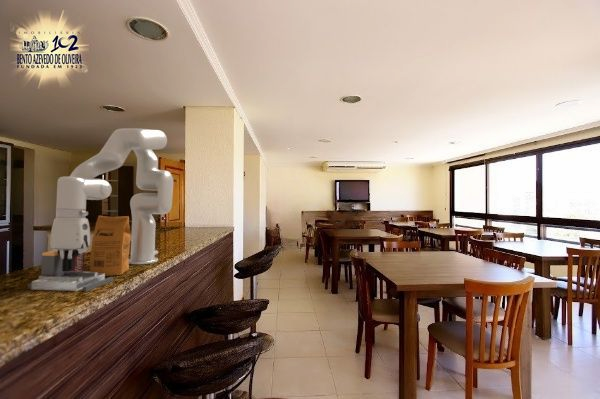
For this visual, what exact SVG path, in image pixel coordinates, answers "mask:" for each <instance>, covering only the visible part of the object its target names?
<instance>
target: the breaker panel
mask: <svg viewBox="0 0 600 399" xmlns="http://www.w3.org/2000/svg"><path fill="white" fill-rule="evenodd" d="M105 277H106V276H105V273H97V272H90V271H83V272H82V271H68V272H66V271H64V275H61V276H45V275H42V276H41V275H39V276H38V279H36V280H35V279H34V280H32V281H31V283H32V287H31V288H30V289H31V290H40V291H64V292H65V291H66V292H67V291H68V292H69V291H70V292H77V291H80V290H83V287H85V286H87V285H90V284H93V283H96V282H98V281H101V280H104V279H106V278H105Z"/></svg>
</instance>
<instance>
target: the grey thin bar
mask: <svg viewBox="0 0 600 399" xmlns="http://www.w3.org/2000/svg"><path fill="white" fill-rule="evenodd" d="M114 280H115V278H114V276H108V277H107V278H105V279H104V280H101V281H98V282H96V283H93V284H90V285H87V286H85V287H83V289H81V290H82V292H88V291H90V290H93V289H96V288H98V287H101V286H104V285H106V284H108V283H112V282H114Z"/></svg>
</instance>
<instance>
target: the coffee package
mask: <svg viewBox="0 0 600 399" xmlns="http://www.w3.org/2000/svg"><path fill="white" fill-rule="evenodd" d="M130 230H131V228H130V217H129V215H128V216H127V215H126V216H113V217H112V216H104V215H98V217H97V219H96V222H95V227H94V230H93V231H94V232H93V236H92V238H91V240H92V241H91V249H90V257H89V272H97V273H105V277H114V276H122V275H123V274H124V273H126V272H127V271H129V269H130V264H129V259H130V258H129V255H130V249H131V231H130Z"/></svg>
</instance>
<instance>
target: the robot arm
mask: <svg viewBox="0 0 600 399" xmlns="http://www.w3.org/2000/svg"><path fill="white" fill-rule="evenodd" d="M167 143H168V136H167V135H166V134H165V132H164V131H163V130H160V129H150V128H149V129H147V128H136V127H135V128H131V127H130V128H127V127H126V128H125V127H124V128H118V129H115V130H114V131H113V133H111V135H110V137H109V138H108V140H107V141H106V142H105V144H104V145H103V147H102V148H101V149H100V151H99V153H97V154H96V155H94V156H92V157H90V158H88V159H86V160H85V161H84V162H82V163H80V164H79V165H77V166H76V167H75V168H74V169H73V171H72V172H71V173H70V175H69V176H60V177H58V179H57V184H56V185H57V186H56V205H55V206H56V207H55V218H54V219H53V222H52V226H51V231H50V239H49V243H50V248H51V251H52V252H55V253H58V254H59V255H60V258H61V259H63V262H62V271H66V272H68V271H72V270H75V262H76V258H77V257H78V255H79V254H80V253H87V252H88V248H89V247H90V245H91V227H90V222H89V219H88V218H86V216H88V215H89V211H88V210H87V200H90V201H94V200H95V201H100V200H104V199H107V198H108V197H110V195H111V194H112V191H113V190H112V189H113V188H112V185H111V183H109V181H107V180H105V179H102V178H96V177H98V176H99V175H100V176H101V175H102V174H105V173H108V172H111V171H115V170H117V169H119V168H121V167H122V166H123V165H124V163H125V161H126V159H127V158H128V156H129V155H130V153H131V152H132V151H133V153H134V154H135V157H136V160H137V162H136V165H137V166H136V177H135V185H136V187H137V188H138V189H139V190H142V191H157V193H154V192H153V193H152V192H140V193H136V194H134V195H133V196H131V198H130V201H129V206H130V210H131V211H130V212H131V236H130V258H129V265H148V264H149V265H150V264H154V263H156V262H158V261H159V258H158V257H155V256H156V255H158V254H159V251H158V250H156V249H155V246H156V227H157V226H156V225H157V224H156V220H155V218H154V216H153V215H166V214H168V213H170V211H171V209H172V207H173V206H172V205H173V195H174V177H173V175H172V173H171V172H170V171H168V170H164V169H159V159H158V156H157V155H156V154H155V152H154V151H153V150H162V149H164V148H166V146H167ZM86 210H87V211H86ZM79 249H80V250H79ZM65 250H66V251H65Z"/></svg>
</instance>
